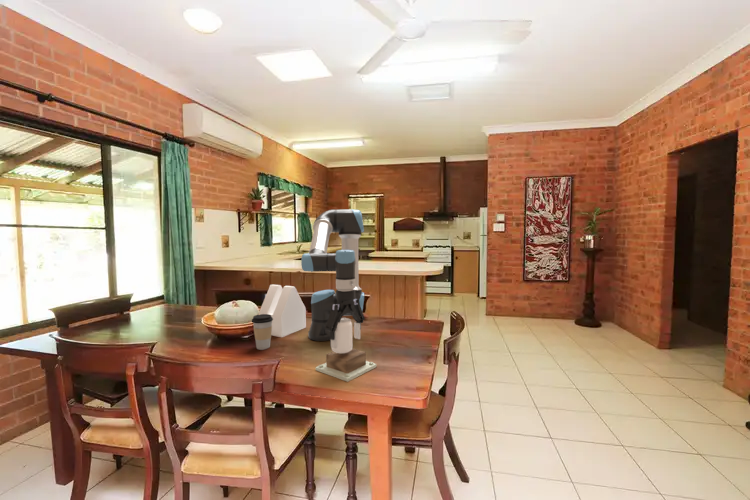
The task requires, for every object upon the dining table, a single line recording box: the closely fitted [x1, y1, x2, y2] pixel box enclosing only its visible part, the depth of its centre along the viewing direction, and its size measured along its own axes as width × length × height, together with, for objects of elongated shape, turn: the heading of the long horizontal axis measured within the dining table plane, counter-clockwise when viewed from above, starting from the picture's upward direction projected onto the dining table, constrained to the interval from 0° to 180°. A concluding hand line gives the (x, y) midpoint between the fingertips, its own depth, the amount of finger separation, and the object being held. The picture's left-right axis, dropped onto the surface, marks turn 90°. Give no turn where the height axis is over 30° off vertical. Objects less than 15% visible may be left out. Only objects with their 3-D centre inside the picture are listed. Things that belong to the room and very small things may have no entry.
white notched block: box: [258, 284, 307, 338], centre depth 187 cm, size 19×15×25 cm
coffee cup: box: [251, 314, 273, 351], centre depth 162 cm, size 9×9×15 cm
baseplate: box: [315, 360, 377, 383], centre depth 138 cm, size 17×17×2 cm
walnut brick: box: [325, 348, 367, 374], centre depth 138 cm, size 11×11×5 cm
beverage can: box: [331, 317, 353, 353], centre depth 135 cm, size 8×8×12 cm
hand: (346, 342), depth 137 cm, fingers open, 13 cm apart
